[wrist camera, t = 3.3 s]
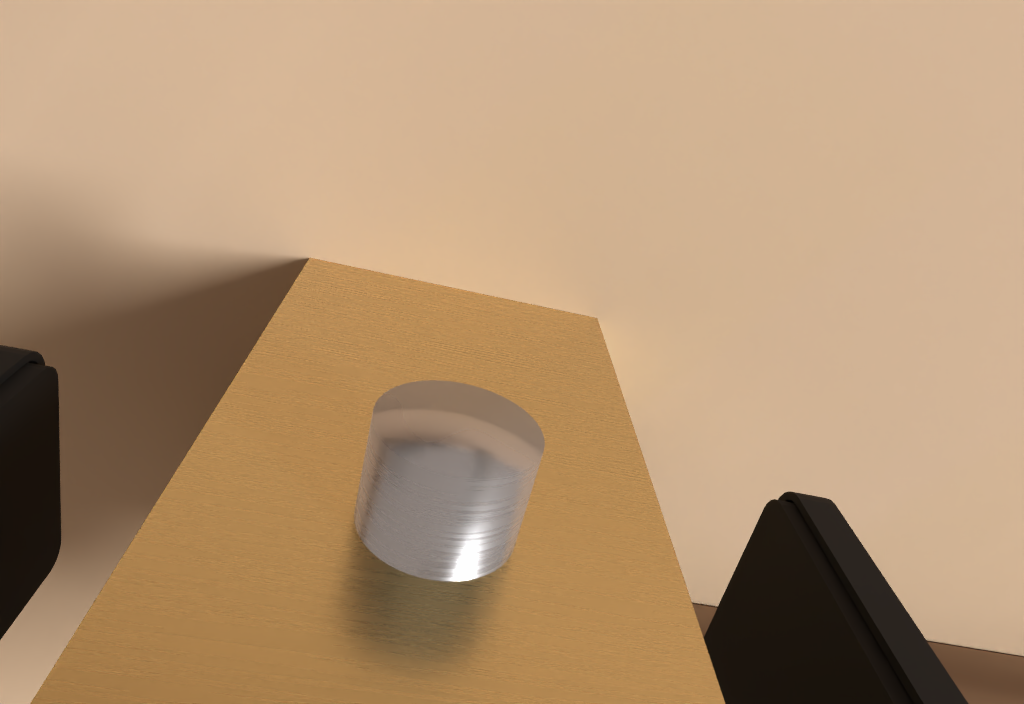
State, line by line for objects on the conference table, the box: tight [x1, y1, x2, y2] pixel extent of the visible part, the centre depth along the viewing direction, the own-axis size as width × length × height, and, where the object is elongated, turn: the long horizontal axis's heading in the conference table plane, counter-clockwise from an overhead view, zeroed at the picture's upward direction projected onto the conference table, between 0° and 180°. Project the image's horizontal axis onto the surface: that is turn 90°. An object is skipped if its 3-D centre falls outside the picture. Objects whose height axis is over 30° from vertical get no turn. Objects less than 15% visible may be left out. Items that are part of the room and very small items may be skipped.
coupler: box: [31, 258, 725, 704], centre depth 9 cm, size 6×4×8 cm
